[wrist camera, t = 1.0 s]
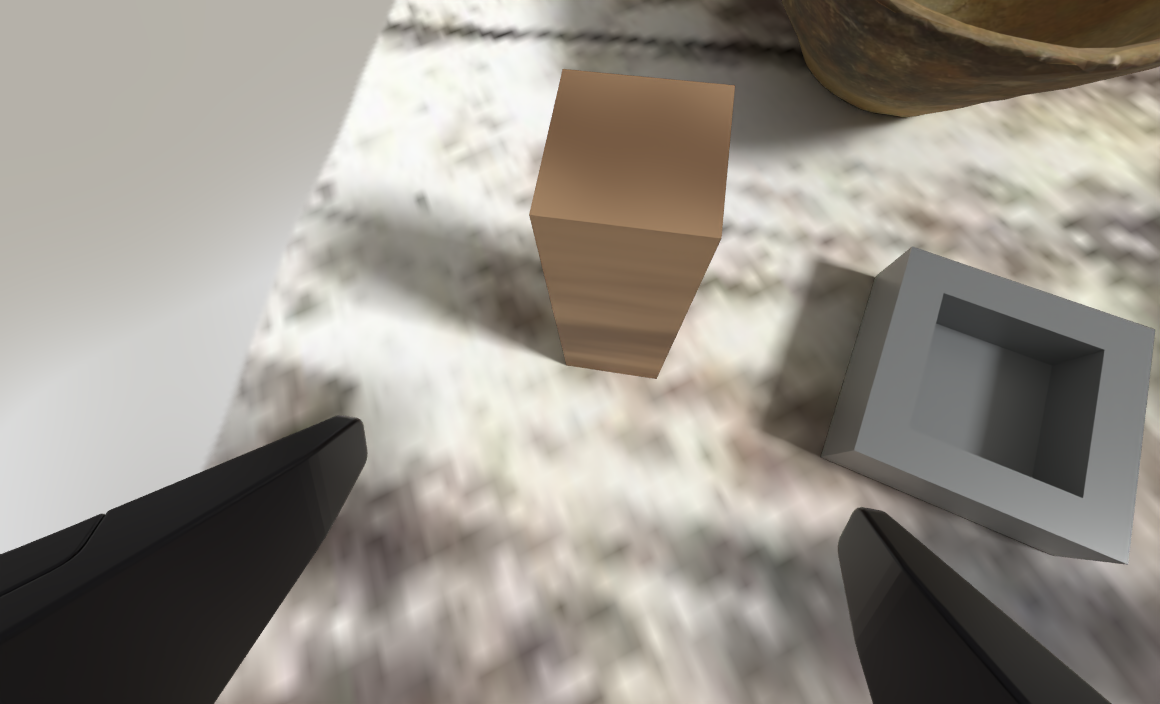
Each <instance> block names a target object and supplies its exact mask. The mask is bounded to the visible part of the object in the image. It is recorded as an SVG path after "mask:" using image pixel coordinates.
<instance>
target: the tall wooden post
mask: <svg viewBox="0 0 1160 704" xmlns="http://www.w3.org/2000/svg"><path fill="white" fill-rule="evenodd" d="M734 91H735V85H725V84H715V83H704V82H694V81H683V80H673V79H662V78H652V77H641V76H630V75H620V74H609V73H599V72H588V71H578V70H567V69H563V70H562V74H561V79H560V83H559V87H558V92H557V96H556V100H555V105H554V109H553V113H552V118H551V122H550V127H549V131H548V135H547V140H546V144H545V148H544V153H543V157H542V161H541V166H540V170H539V175H538V179H537V183H536V188H535V192H534V196H533V201H532V205H531V209H530V214H529V216H530V220H531V224H532V228H533V232H534V236H535V240H536V244H537V248H538V252H539V256H540V260H541V264H542V268H543V272H544V277H545V281H546V285H547V289H548V293H549V297H550V301H551V305H552V309H553V313H554V317H555V321H556V325H557V329H558V333H559V337H560V341H561V345H562V349H563V353H564V358H565V362H566V365H568V366H575V367H582V368H588V369H595V370H601V371H608V372H615V373H621V374H628V375H635V376H641V377H648V378H654V379H657V377H658V374H659V372H660V370H661V368H662V366H663V364H664V361H665V359H666V357H667V355H668V353H669V351H670V348H671V346H672V344H673V342H674V340H675V338H676V335H677V333H678V331H679V329H680V327H681V325H682V322H683V320H684V318H685V316H686V314H687V312H688V309H689V307H690V305H691V303H692V301H693V299H694V296H695V294H696V292H697V290H698V288H699V286H700V283H701V281H702V279H703V277H704V275H705V273H706V270H707V268H708V266H709V264H710V262H711V260H712V258H713V255H714V253H715V251H716V249H717V247H718V245H719V242H720V240H721V236H722V225H723V214H724V203H725V191H726V180H727V169H728V158H729V147H730V136H731V125H732V113H733V102H734Z"/></svg>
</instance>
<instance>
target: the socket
mask: <svg viewBox="0 0 1160 704" xmlns="http://www.w3.org/2000/svg"><path fill="white" fill-rule="evenodd" d="M1154 336H1155V329H1152V328H1149V327H1147V326H1144V325H1141V324H1138V323H1135V322H1132V321H1129V320H1126V319H1123V318H1120V317H1117V316H1114V315H1111V314H1108V313H1105V312H1103V311H1100V310H1097V309H1094V308H1091V307H1088V306H1085V305H1082V304H1079V303H1076V302H1073V301H1070V300H1067V299H1064V298H1062V297H1059V296H1056V295H1053V294H1050V293H1047V292H1044V291H1041V290H1038V289H1035V288H1032V287H1029V286H1026V285H1023V284H1021V283H1018V282H1015V281H1012V280H1009V279H1006V278H1003V277H1000V276H997V275H994V274H991V273H988V272H985V271H982V270H979V269H977V268H974V267H971V266H968V265H965V264H962V263H959V262H956V261H953V260H950V259H947V258H944V257H941V256H938V255H936V254H933V253H930V252H927V251H924V250H921V249H918V248H915V247H911V248H910V249H909V250H907V251H906V252H905V253H904V254H903V255H901V256H900V257H899V258H898V259H896V260H895V261H894V262H893V263H892V264H890V265H889V266H888V267H887V268H885V269H884V270H883V271H882V272H880V273H879V274H878V275H877V276H876V277H875V280H874V283H873V287H872V290H871V293H870V296H869V300H868V303H867V306H866V310H865V313H864V316H863V319H862V323H861V326H860V329H859V333H858V336H857V339H856V342H855V346H854V349H853V352H852V356H851V359H850V362H849V365H848V369H847V372H846V375H845V379H844V382H843V385H842V388H841V392H840V395H839V398H838V402H837V405H836V408H835V412H834V415H833V418H832V421H831V425H830V428H829V431H828V435H827V438H826V441H825V444H824V448H823V451H822V454H821V457H822V458H824V459H826V460H829V461H831V462H834V463H836V464H838V465H841V466H843V467H845V468H848V469H850V470H852V471H855V472H857V473H859V474H862V475H864V476H867V477H869V478H871V479H874V480H876V481H878V482H881V483H883V484H885V485H888V486H890V487H892V488H895V489H897V490H900V491H902V492H904V493H907V494H909V495H911V496H914V497H916V498H918V499H921V500H923V501H925V502H928V503H930V504H933V505H935V506H937V507H940V508H942V509H944V510H947V511H949V512H951V513H954V514H956V515H958V516H961V517H963V518H966V519H968V520H970V521H973V522H975V523H977V524H980V525H982V526H984V527H987V528H989V529H991V530H994V531H996V532H999V533H1001V534H1003V535H1006V536H1008V537H1010V538H1013V539H1015V540H1017V541H1020V542H1022V543H1024V544H1027V545H1029V546H1032V547H1034V548H1036V549H1039V550H1041V551H1043V552H1046V553H1048V554H1050V555H1053V556H1060V557H1069V558H1077V559H1085V560H1094V561H1102V562H1111V563H1119V564H1127V565H1128V561H1129V552H1130V544H1131V535H1132V526H1133V518H1134V509H1135V500H1136V492H1137V483H1138V474H1139V466H1140V457H1141V448H1142V440H1143V431H1144V422H1145V414H1146V405H1147V396H1148V388H1149V379H1150V370H1151V362H1152V353H1153V344H1154Z"/></svg>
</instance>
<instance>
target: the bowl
mask: <svg viewBox="0 0 1160 704" xmlns="http://www.w3.org/2000/svg"><path fill="white" fill-rule="evenodd" d="M781 1H782V3H783V5H784V8H785V10H786V12H787V15H788V17H789V19H790V22H791V24H792V26H793V28H794V30H795V32H796V34H797V36H798V40H799V43H800V47H801V50H802V53H803V57H804V60H805V62H806V64H807V66H808V68H809V69H810V71H811V72H812V74H813V75H814V76H815V78H816V79H817V80H818V81H819V82H820V83H821V84H822V85H823V86H824V87H825V88H827V89H828V90H829V91H830V92H832V93H833V94H834V95H836V96H838V97H839V98H841V99H843V100H845V101H846V102H848V103H850V104H852V105H854V106H856V107H858V108H860V109H862V110H866V111H869V112H873V113H880V114H888V115H895V116H901V117H912V116H919V115H924V114H930V113H936V112H942V111H948V110H953V109H959V108H964V107H968V106H971V105H975V104H979V103H984V102H990V101H998V100H1006V99H1009V98H1013V97H1017V96H1021V95H1027V94H1034V93H1040V92H1047V91H1053V90H1060V89H1067V88H1071V87H1076V86H1080V85H1084V84H1088V83H1093V82H1097V81H1101V80H1106V79H1110V78H1114V77H1119V76H1123V75H1127V74H1132V73H1136V72H1140V71H1145V70H1149V69H1153V68H1156V67H1159V66H1160V0H781Z"/></svg>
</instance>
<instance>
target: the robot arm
mask: <svg viewBox="0 0 1160 704" xmlns="http://www.w3.org/2000/svg"><path fill="white" fill-rule="evenodd" d="M366 460H367V445H366V439H365V432H364V426H363V422H362V421H361V420H360V419H359V418H355V417H350V416H344V415H338V416H335V417H332V418H330V419H328V420H325V421H323V422H320V423H318V424H316V425H313V426H311V427H308V428H306V429H304V430H301V431H299V432H296V433H294V434H292V435H289V436H287V437H284V438H282V439H280V440H277V441H275V442H272V443H270V444H268V445H265V446H263V447H260V448H258V449H256V450H253V451H251V452H248V453H246V454H244V455H241V456H239V457H236V458H234V459H232V460H229V461H227V462H224V463H222V464H220V465H217V466H215V467H212V468H210V469H208V470H205V471H203V472H200V473H198V474H196V475H193V476H191V477H188V478H186V479H184V480H181V481H179V482H176V483H174V484H172V485H169V486H167V487H164V488H162V489H160V490H157V491H155V492H152V493H150V494H148V495H145V496H143V497H140V498H138V499H136V500H133V501H131V502H128V503H126V504H124V505H121V506H119V507H116V508H114V509H111V510H109V511H108V512H107V513H106V515H105V514H99V515H97V516H94V517H92V518H90V519H87V520H85V521H83V522H80V523H78V524H76V525H73V526H71V527H68V528H66V529H63V530H61V531H58V532H56V533H53V534H51V535H48V536H46V537H43V538H41V539H39V540H36V541H33V542H31V543H28V544H26V545H24V546H21V547H19V548H16V549H14V550H11V551H8V552H5V553H3V554H0V704H214V703H215V701H216V700H217V698H218V697H219V695H220V694H221V692H222V691H223V689H224V688H225V686H226V685H227V684H228V682H229V681H230V679H231V678H232V676H233V675H234V673H235V672H236V670H237V669H238V667H239V666H240V664H241V663H242V661H243V660H244V658H245V657H246V655H247V654H248V652H249V651H250V649H251V648H252V646H253V645H254V643H255V642H256V640H257V639H258V637H259V636H260V634H261V633H262V631H263V630H264V628H265V627H266V626H267V624H268V623H269V621H270V620H271V618H272V617H273V615H274V614H275V612H276V611H277V609H278V608H279V606H280V605H281V603H282V602H283V600H284V599H285V597H286V596H287V594H288V593H289V591H290V590H291V588H292V587H293V585H294V584H295V582H296V581H297V579H298V578H299V576H300V575H301V573H302V572H303V570H304V569H305V568H306V566H307V565H308V563H309V562H310V560H311V559H312V557H313V556H314V554H315V553H316V551H317V550H318V548H319V547H320V545H321V543H322V542H323V540H324V539H325V537H326V536H327V534H328V532H329V530H330V529H331V527H332V525H333V523H334V521H335V520H336V518H337V516H338V514H339V512H340V510H341V508H342V506H343V505H344V503H345V501H346V499H347V497H348V495H349V493H350V492H351V490H352V488H353V486H354V484H355V482H356V480H357V478H358V477H359V475H360V473H361V471H362V469H363V467H364V465H365V463H366ZM838 556H839V562H840V567H841V572H842V578H843V583H844V588H845V594H846V599H847V604H848V610H849V615H850V620H851V626H852V630H853V635H854V640H855V644H856V647H857V651H858V655H859V658H860V662H861V665H862V669H863V672H864V675H865V679H866V682H867V685H868V689H869V692H870V695H871V699H872V702H873V704H1111V703H1110V702H1109V701H1108V700H1107V699H1105V698H1104V697H1103V696H1102V695H1101V694H1100V693H1098V692H1097V691H1096V690H1095V689H1094V688H1092V687H1091V686H1090V685H1089V684H1088V683H1087V682H1085V681H1084V680H1083V679H1082V678H1081V677H1079V676H1078V675H1077V674H1076V673H1075V672H1074V671H1072V670H1071V669H1070V668H1069V667H1068V666H1066V665H1065V664H1064V663H1063V662H1062V661H1061V660H1059V659H1058V658H1057V657H1056V656H1055V655H1053V654H1052V653H1051V652H1050V651H1049V650H1048V649H1046V648H1045V647H1044V646H1043V645H1042V644H1040V643H1039V642H1038V641H1037V640H1036V639H1035V638H1033V637H1032V636H1031V635H1030V634H1029V633H1027V632H1026V631H1025V630H1024V629H1023V628H1022V627H1020V626H1019V625H1018V624H1017V623H1016V622H1014V621H1013V620H1012V619H1011V618H1010V617H1009V616H1007V615H1006V614H1005V613H1004V612H1003V611H1001V610H1000V609H999V608H998V607H997V606H996V605H994V604H993V603H992V602H991V601H990V600H988V599H987V598H986V597H985V596H984V595H983V594H981V593H980V592H979V591H978V590H977V589H975V588H974V587H973V586H972V585H971V584H970V583H968V582H967V581H966V580H965V579H964V578H962V577H961V576H960V575H959V574H958V573H957V572H955V571H954V570H953V569H952V568H951V567H949V566H948V565H947V564H946V563H945V562H944V561H942V560H941V559H940V558H939V557H938V556H936V555H935V554H934V553H933V552H932V551H931V550H929V549H928V548H927V547H926V546H925V545H923V544H922V543H921V542H920V541H919V540H918V539H916V538H915V537H914V536H913V535H912V534H910V533H909V532H908V531H907V530H906V529H905V528H903V527H902V526H901V525H900V524H899V523H897V522H896V521H895V520H894V519H893V518H892V517H890V516H889V515H888V514H887V513H885V512H883V511H880V510H875V509H869V508H863V507H860V508H857V509H856V510H854V512H853V513H852V515H851V517H850V519H849V521H848V523H847V525H846V527H845V528H844V530H843V532H842V534H841V536H840V538H839V542H838Z"/></svg>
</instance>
